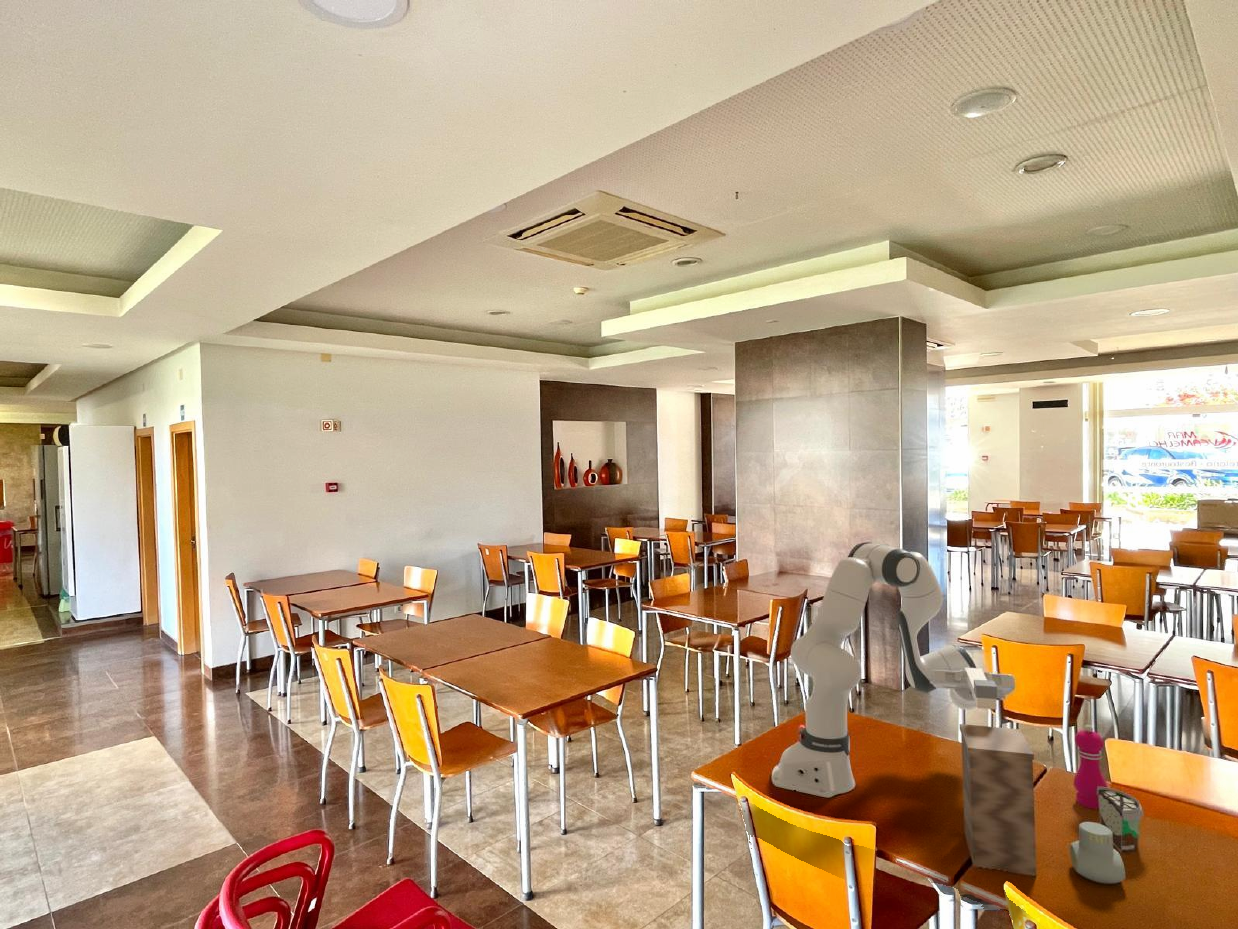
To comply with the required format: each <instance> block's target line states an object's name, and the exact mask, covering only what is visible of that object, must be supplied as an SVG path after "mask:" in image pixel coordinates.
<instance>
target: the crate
mask: <svg viewBox="0 0 1238 929" xmlns="http://www.w3.org/2000/svg"><path fill="white" fill-rule="evenodd" d="M959 731H960V733H961V734H960V736H961V739H960V740H961V761H962V762H961V763H962V768H961V769H962V790H963V791H962V793H963V794H962V795H963V796H962V797H963V823H964V835H965V840H966V843H967V847H968V851H969V856H970V858H971V862H972V865H973V868H979V867H982V869H986V868H988V869H987V870H992V869H1000V870H1006V871H1009V872H1008V873H1012V874H1013V873H1014V874H1020V875H1026V876H1034V877H1038V876H1037V851H1036V849H1037V848H1036V847H1037V846H1036V824H1035V823H1036V822H1035V821H1036V820H1035V817H1036V816H1035V794H1034V792H1035V790H1034V763H1033V762H1034V761H1033V760H1035V753H1034V751H1033V750H1032V748H1031V746H1030V745H1029V743H1028V741H1027V739H1026V737H1025V736H1024V734H1023V733H1022V731H1021V729H1019V728H1008V727H999V726H998V727H996V726H988V725H987V726H986V725H985V726H984V725H973V724H966V723H965V724H963V723H960V724H959ZM1006 871H1005V872H1006Z"/></svg>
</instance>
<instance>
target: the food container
mask: <svg viewBox="0 0 1238 929" xmlns="http://www.w3.org/2000/svg"><path fill="white" fill-rule="evenodd" d="M1097 794H1098V800H1099V809H1098V810H1099V811H1098V812H1099V820H1100V821H1099V824H1101V825H1104V826H1106V827H1107V828H1109V829H1110V830H1111V831H1112V834H1113V846H1115V847H1116V848H1117V850H1118V851H1120V853H1122V854H1129V853H1134V852H1136V851H1137V850H1138V848H1139V837H1140V836H1139V832H1140V821H1141V819H1142V818H1143V817H1144V810H1143V807H1142V805H1141V804H1140V802H1139V800H1138V799H1137V798H1135V797H1134V796H1133V795H1131V794H1129V793H1126V792H1124V791H1121V790H1119V789H1114V788H1111V787H1108V788H1106V787H1098V789H1097Z"/></svg>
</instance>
